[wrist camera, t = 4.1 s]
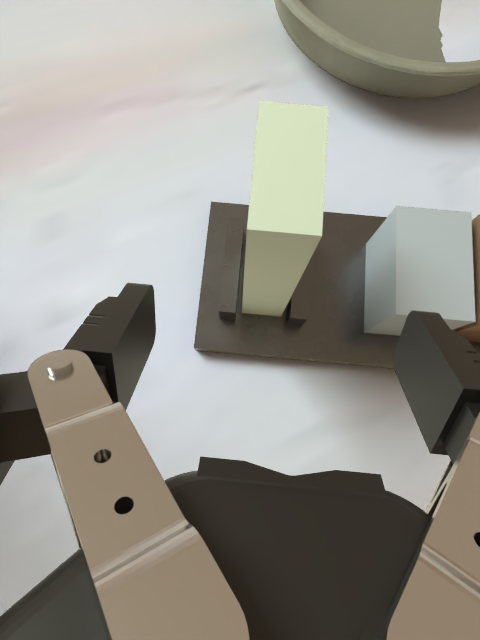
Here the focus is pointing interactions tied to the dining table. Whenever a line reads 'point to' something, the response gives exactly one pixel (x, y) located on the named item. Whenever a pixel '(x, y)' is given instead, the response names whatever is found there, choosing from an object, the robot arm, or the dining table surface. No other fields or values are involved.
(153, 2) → the dining table surface
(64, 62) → the dining table surface
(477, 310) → the offcut
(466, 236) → the offcut
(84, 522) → the robot arm
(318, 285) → the rack
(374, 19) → the cake pan
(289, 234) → the pale green block
